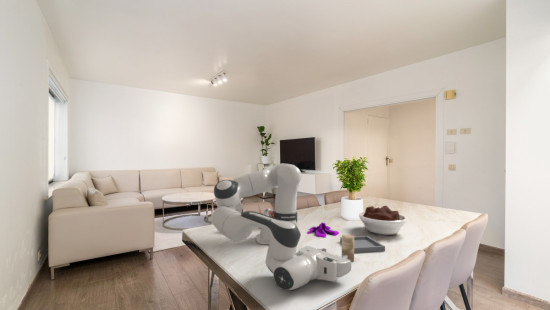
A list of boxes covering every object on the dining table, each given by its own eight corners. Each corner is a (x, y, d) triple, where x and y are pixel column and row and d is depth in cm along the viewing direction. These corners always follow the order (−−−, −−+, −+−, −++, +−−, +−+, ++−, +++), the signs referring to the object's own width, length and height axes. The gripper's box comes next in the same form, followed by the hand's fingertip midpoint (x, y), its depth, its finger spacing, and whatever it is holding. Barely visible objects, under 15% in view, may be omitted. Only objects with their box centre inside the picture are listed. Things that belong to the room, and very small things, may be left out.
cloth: (325, 226, 158) (325, 216, 158) (346, 235, 141) (346, 224, 141) (294, 231, 147) (294, 220, 147) (314, 241, 131) (314, 229, 131)
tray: (354, 253, 114) (354, 248, 114) (340, 241, 129) (340, 237, 129) (385, 251, 117) (385, 246, 117) (367, 240, 131) (367, 235, 131)
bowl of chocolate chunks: (401, 243, 128) (401, 213, 128) (352, 233, 143) (352, 206, 143) (410, 231, 148) (410, 205, 148) (366, 223, 163) (366, 200, 163)
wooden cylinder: (344, 262, 104) (345, 238, 104) (339, 258, 108) (339, 234, 108) (356, 262, 104) (356, 237, 104) (350, 257, 109) (350, 234, 109)
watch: (269, 229, 148) (270, 210, 148) (261, 226, 155) (261, 208, 154) (277, 227, 152) (277, 209, 152) (268, 224, 158) (269, 207, 158)
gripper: (291, 263, 97) (313, 254, 107) (338, 283, 83) (358, 270, 92) (291, 247, 97) (313, 239, 107) (338, 264, 83) (359, 253, 92)
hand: (335, 253), depth 99 cm, fingers open, 8 cm apart
